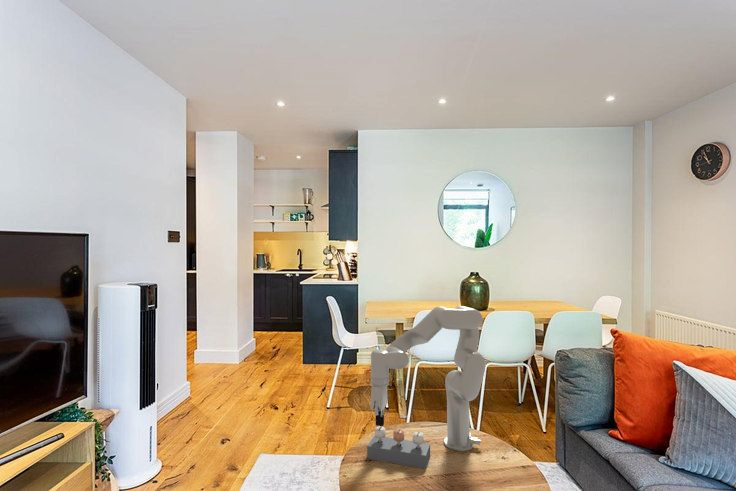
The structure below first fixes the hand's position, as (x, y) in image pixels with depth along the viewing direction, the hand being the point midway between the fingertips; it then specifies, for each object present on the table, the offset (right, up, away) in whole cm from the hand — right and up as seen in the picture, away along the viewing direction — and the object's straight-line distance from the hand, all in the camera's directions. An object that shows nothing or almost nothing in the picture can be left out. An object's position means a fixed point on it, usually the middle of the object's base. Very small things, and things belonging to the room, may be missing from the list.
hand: (379, 424), depth 160 cm
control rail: (+8, -12, -3) cm, 14 cm away
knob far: (0, -8, 0) cm, 8 cm away
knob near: (+15, -8, -5) cm, 18 cm away
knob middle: (+8, -8, -3) cm, 11 cm away
